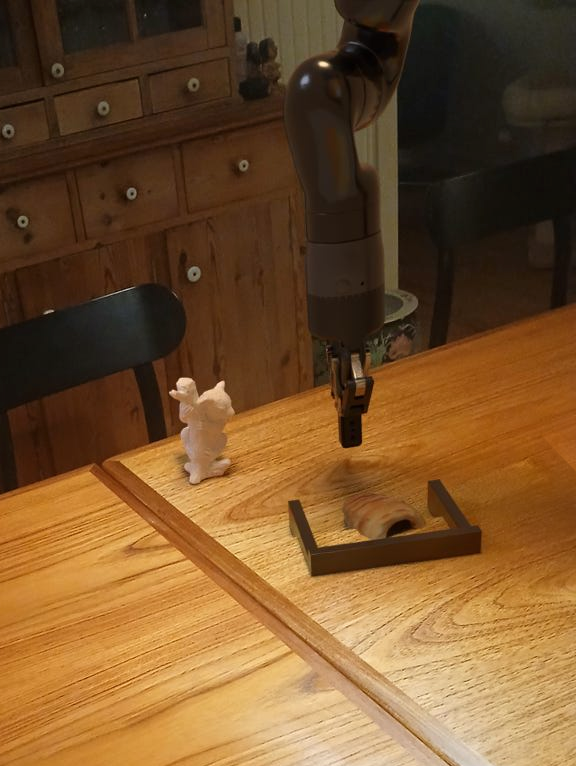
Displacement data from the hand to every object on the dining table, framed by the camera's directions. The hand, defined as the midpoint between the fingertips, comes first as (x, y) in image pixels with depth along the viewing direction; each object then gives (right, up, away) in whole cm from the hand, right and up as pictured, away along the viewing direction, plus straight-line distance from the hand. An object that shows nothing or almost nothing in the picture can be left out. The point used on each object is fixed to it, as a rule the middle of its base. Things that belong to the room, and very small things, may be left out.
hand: (350, 444), depth 106 cm
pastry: (+1, -11, -7) cm, 13 cm away
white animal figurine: (-14, -1, +11) cm, 18 cm away
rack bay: (0, -12, -9) cm, 14 cm away
